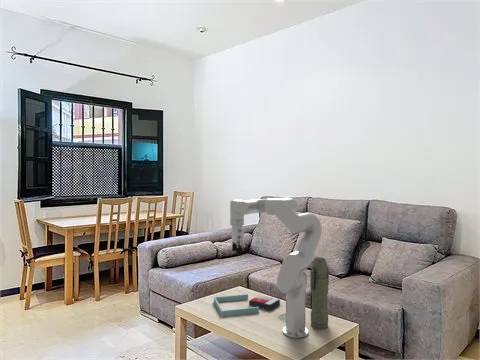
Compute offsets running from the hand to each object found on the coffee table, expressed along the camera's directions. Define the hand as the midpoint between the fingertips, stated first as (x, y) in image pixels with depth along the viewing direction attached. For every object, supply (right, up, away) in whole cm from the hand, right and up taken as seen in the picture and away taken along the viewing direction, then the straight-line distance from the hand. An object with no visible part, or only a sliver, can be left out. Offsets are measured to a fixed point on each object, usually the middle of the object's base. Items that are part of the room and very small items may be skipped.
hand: (237, 252), depth 208 cm
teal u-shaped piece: (-1, -34, +12) cm, 36 cm away
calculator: (+16, -34, +14) cm, 40 cm away
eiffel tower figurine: (+29, -35, -3) cm, 46 cm away
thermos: (+42, -35, -14) cm, 57 cm away
